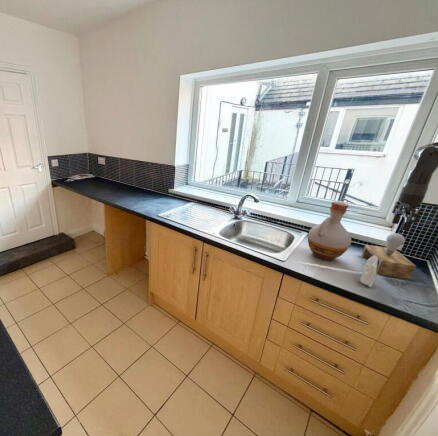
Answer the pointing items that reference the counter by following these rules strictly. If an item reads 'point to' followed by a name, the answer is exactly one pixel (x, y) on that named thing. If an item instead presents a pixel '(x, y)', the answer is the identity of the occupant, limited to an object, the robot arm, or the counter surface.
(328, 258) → the jug
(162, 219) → the counter surface
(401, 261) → the wooden wedge block
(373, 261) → the pale stone slab
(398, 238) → the lightbulb
